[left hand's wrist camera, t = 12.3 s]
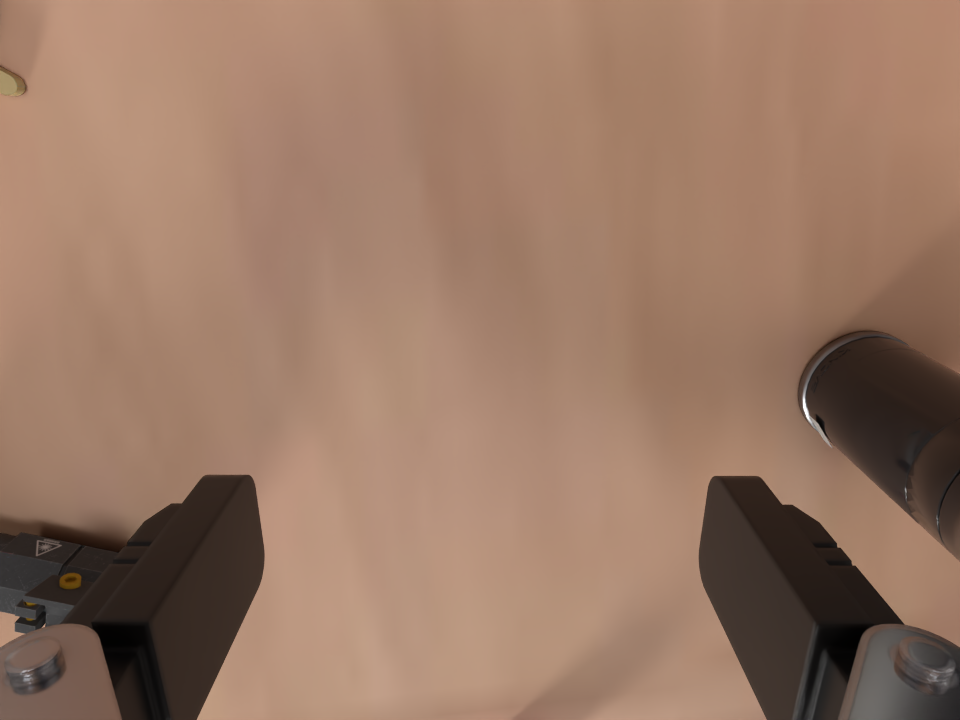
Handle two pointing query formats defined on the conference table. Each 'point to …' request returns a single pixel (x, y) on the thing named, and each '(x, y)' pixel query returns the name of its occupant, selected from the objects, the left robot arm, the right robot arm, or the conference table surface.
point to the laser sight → (45, 577)
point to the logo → (10, 83)
